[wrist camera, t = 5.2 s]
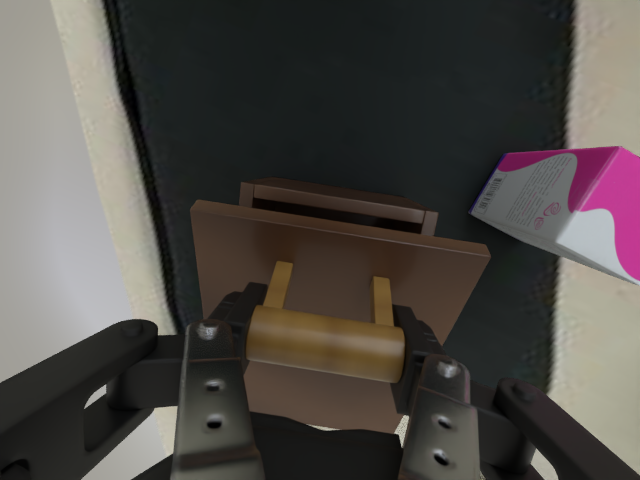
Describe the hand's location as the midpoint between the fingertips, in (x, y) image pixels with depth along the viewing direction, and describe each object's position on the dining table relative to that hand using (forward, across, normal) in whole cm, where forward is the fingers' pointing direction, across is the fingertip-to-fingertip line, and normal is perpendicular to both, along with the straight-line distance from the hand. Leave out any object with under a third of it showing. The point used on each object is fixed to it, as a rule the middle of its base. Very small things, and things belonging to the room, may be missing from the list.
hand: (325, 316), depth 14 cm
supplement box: (+17, -15, -5) cm, 23 cm away
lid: (+4, 0, +3) cm, 5 cm away
